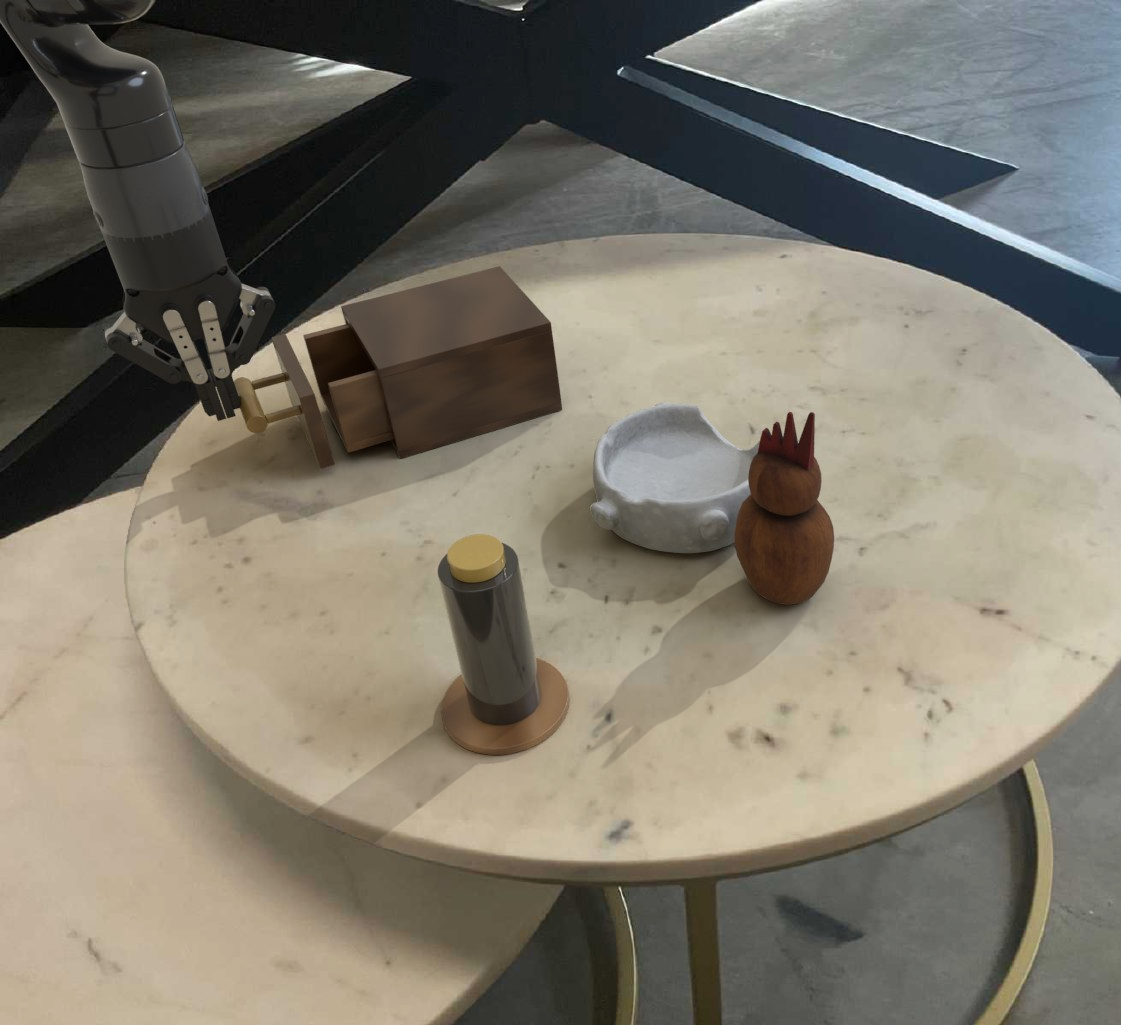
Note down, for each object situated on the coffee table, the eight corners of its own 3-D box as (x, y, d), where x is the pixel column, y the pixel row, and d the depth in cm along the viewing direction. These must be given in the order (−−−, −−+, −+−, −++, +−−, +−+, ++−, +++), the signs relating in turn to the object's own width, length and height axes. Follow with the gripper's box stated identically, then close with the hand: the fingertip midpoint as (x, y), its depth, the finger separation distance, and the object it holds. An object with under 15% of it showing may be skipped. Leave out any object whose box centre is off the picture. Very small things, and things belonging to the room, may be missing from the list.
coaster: (466, 774, 68) (464, 767, 67) (427, 688, 73) (425, 682, 73) (589, 724, 70) (588, 717, 70) (542, 645, 76) (541, 638, 76)
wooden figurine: (847, 595, 79) (857, 412, 69) (781, 630, 76) (782, 445, 67) (786, 546, 83) (788, 368, 74) (722, 578, 81) (716, 397, 72)
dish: (647, 437, 95) (643, 386, 92) (801, 476, 90) (802, 423, 87) (555, 537, 85) (546, 483, 82) (721, 587, 80) (719, 531, 77)
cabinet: (400, 459, 95) (378, 369, 89) (362, 391, 104) (340, 306, 98) (562, 410, 99) (551, 322, 94) (513, 349, 108) (500, 265, 103)
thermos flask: (482, 736, 69) (448, 588, 62) (459, 687, 73) (424, 542, 65) (552, 708, 71) (527, 560, 63) (526, 662, 74) (499, 517, 67)
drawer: (266, 485, 91) (242, 413, 87) (242, 418, 99) (219, 350, 95) (478, 422, 97) (465, 352, 93) (438, 364, 105) (424, 297, 101)
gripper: (238, 175, 87) (296, 372, 97) (52, 215, 82) (134, 416, 93) (256, 208, 81) (316, 412, 92) (58, 252, 77) (145, 461, 88)
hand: (224, 414), depth 92 cm, fingers closed
